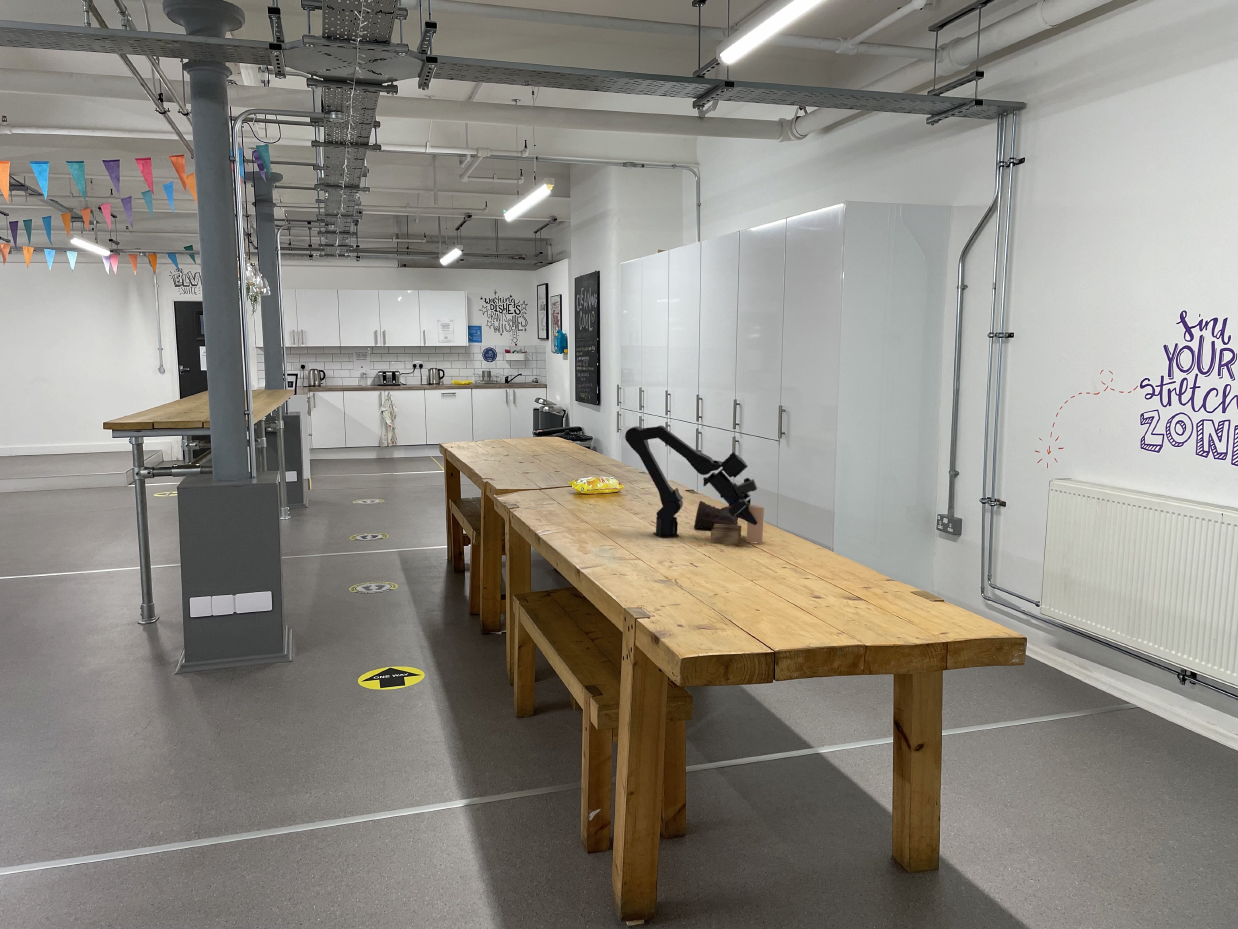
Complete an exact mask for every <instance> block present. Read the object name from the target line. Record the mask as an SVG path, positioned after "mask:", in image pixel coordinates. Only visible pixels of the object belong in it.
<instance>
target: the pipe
mask: <svg viewBox="0 0 1238 929" xmlns="http://www.w3.org/2000/svg"><path fill="white" fill-rule="evenodd" d="M729 508H730V507H729V506H723V507H721V508H718V507H716V506H714V505H711V504H708V503H706V502H704V501H703V500H699V502H698V505H697V510H696V514H695V519H694V525H693V526H694V529H703V530H706V529H709V530H712V529H713V528H714V524H723V525H737V526H738V523H739V522H738V520H739V518H738V517H735V515H734V516H732V515H731V514H730V513H729Z"/></svg>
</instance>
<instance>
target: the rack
mask: <svg viewBox="0 0 1238 929" xmlns="http://www.w3.org/2000/svg"><path fill="white" fill-rule="evenodd" d="M741 537H742V525H738V524H737V525H723V524H714V528H713V529H711V531H710V539H709V543H710V544H717V543H719V544H720V545H723V544H724V545H731V546H732V545H733V546H739V544H740V541H741ZM739 540H740V541H739Z"/></svg>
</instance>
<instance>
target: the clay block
mask: <svg viewBox="0 0 1238 929" xmlns="http://www.w3.org/2000/svg"><path fill="white" fill-rule="evenodd" d="M749 510H750V512H751V513H752V515H753V516H754V518H755V519H756V521H757V524H756V525H754V524H751V523H749V522H747V521H746V522H747V524H746V542H757V543H762V544H763V541H762V540H763V539H764V538H763V537H764V519H765V505H761V504H760V505H759V504H750V505H749Z"/></svg>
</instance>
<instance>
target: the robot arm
mask: <svg viewBox="0 0 1238 929" xmlns="http://www.w3.org/2000/svg"><path fill="white" fill-rule="evenodd" d="M624 439H625V441H626V443H627V444H628V445H629V447H630V448H631V449H632V450H633V451H634V452H635V453H636V454H637V455H638V456H639V458H640V460H641V463H642V464H643V466H644V467H645V469H646V471H647V472H648V474H649V476H650V478H651V480H652V481H653V485H654V486H655V488H656V489H657V491H658V493H659V494H658V495H659V498H660V503H661V506H662V507H661V508H659V509H658V511H656V513H655V514H656V523H655V532H653V533H652V534H653V535H655V536H658V537H660V538H673V537H674V538H675V537H680V534H678V524H679V523H678V517H677V516H676V514H678V513H679V512H680V511H681V509H682V508H683V504H684V502H683V499H684V497H683V496H682V495H681V493H680V491H679V488H678V487H676V488H675V489H673V487H672V486H671V485H670V484H669V482H668V480H667V478H666V477H665V475H664V472H663V470H662V469H661V467H660V466H659V462H657V459H656V458H655V456H654V454H653V452H652V451H651V448H650V443H649V441H648V440H653V439H659V440H660V441H661V442H663V443H664V444H666V445H667V446H668V447H670V448H671V449H672V450H674V451H675V452H676V453H678V454H679V455H680V456H681V457H683V458H684V459H685V460H686V461H687V462H688V463H689V464H690V466H691V467H692V468H693V469H694V470H695V471H696V472H697V473H698V474H700V475H701V476H704V477H703V478H702V480H703V487H706V486H707V485H710V486H711V487H713V489H714V490H715V491H716V492H717V493H718V494H719V497H720V498H721V499H723V500H724V501H725V502H726V503H727V505H728V506H729V507H730V508H729V513H730V514H731V515H732V516H734V515H735V517H738V519H741V520H743V521H745V522H749V523H751V524H754V525H756V524H757V521H756V519H755V518H754V516H753V515H752V513H751V512H750V510H749V505H751V502H752V501H751V499H752V498H751V494H750V493H751V492H755V491H756V490H757V489H758V486H757V484H756V481H755V479H751V478H749V477H747V478H744V479H743V482H741V484H737V483H736V482H733V481H732V480H731V478H734V479H735V478H737V477H738V476H740V474H742V472H743V471H745V470H746V469H747V468H748V467H749V465H748V464H747V463H746V462H745V460H744V459H743V458H742V457H740V456H739V455H738V454H736V452H735V451H732V452H731V453H730V454H729V456H728V457H727V458H725V459H724V460H723V461H721V460H715V459H713V457H711V456H709V455H707V454H705V453H703V452H701V451H698V450H696V449H695V448H692V446H690V445H689V444H687V443H686V442H684V441H683V440H682V439H680V438H679V437H678V436H676V435H675V434H674V433H673V432H671V431H670V430H668V429H667V428H666V426H664V425H657V426H651V427H641V426H637V425H636V426H632V427H631V428H628V430H626V432H625V434H624ZM719 469H720V470H719ZM718 470H719V471H718ZM716 471H717V472H716ZM710 473H711V474H710ZM706 475H708V476H707V477H705V476H706ZM757 491H758V490H757Z"/></svg>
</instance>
